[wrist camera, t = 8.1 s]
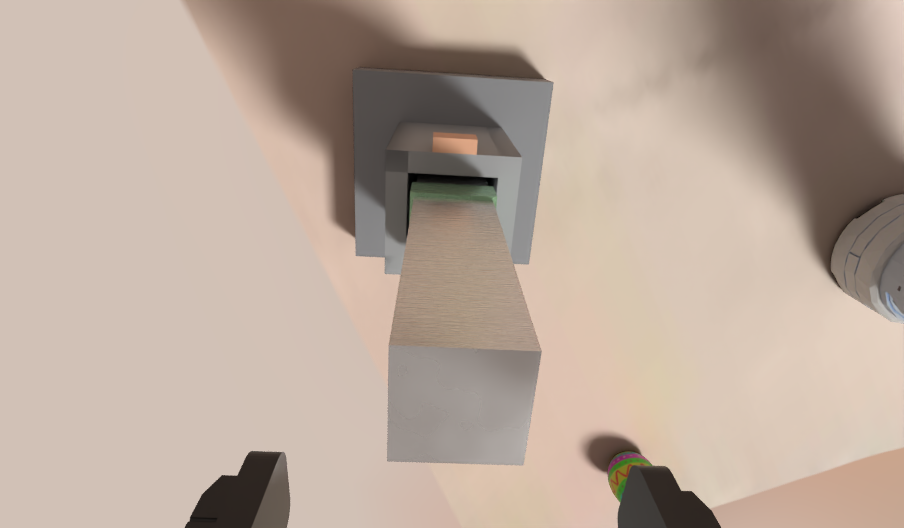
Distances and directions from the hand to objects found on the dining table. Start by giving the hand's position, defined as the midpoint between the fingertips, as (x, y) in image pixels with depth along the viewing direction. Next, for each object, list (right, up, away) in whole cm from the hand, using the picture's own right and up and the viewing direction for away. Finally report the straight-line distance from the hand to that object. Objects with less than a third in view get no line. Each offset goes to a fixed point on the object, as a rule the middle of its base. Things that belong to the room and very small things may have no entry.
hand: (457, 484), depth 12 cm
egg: (+19, -16, +43) cm, 49 cm away
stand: (0, +13, +29) cm, 32 cm away
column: (0, +9, +20) cm, 23 cm away
